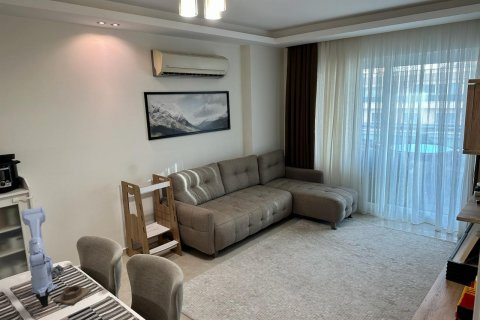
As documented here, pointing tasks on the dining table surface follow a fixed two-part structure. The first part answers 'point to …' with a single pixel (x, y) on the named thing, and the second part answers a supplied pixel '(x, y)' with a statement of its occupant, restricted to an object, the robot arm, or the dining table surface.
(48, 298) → the egg
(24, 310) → the dining table surface
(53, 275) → the egg carton
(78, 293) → the egg stand
